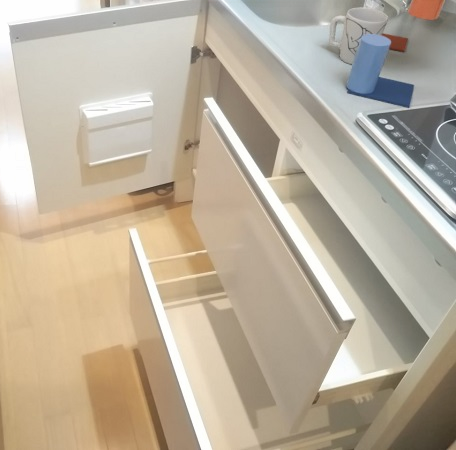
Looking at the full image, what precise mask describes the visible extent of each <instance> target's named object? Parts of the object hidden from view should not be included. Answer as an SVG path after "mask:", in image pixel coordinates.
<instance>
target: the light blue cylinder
mask: <svg viewBox="0 0 456 450" xmlns="http://www.w3.org/2000/svg"><path fill="white" fill-rule="evenodd" d="M390 45H391V40H390V39H388V38H387V37H384V36H382V35H377V34H365V35H362V36H361V39H360V42H359V45H358V48H357V52H356V55H355V58H354V61H353V64H351V68H350V71H349V73H348V77H347V80H346V83H345V86H346V88H347V90H348V89H349V90H351V91H353V92H356V93H360V94H369V93H372V92H373V91H374V90H375V87H376V84H377V81H378V79H379V77H381V76H380V75H381V73H382V70H383V68H384V65H385V61H386V58H387V55H388V53H389V50H390V49H389V48H390Z"/></svg>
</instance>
